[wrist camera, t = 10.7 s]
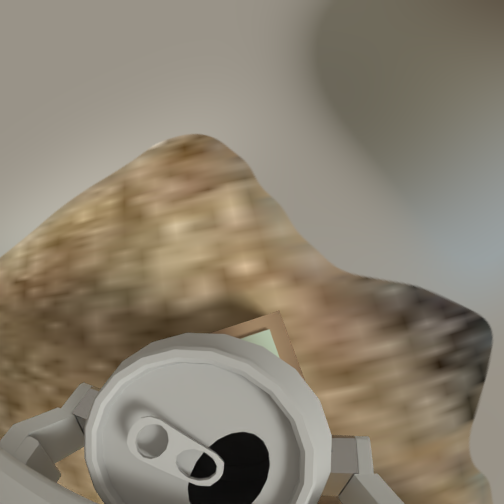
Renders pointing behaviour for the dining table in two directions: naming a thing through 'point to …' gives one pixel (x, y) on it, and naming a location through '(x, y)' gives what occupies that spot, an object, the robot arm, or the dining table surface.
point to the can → (207, 427)
